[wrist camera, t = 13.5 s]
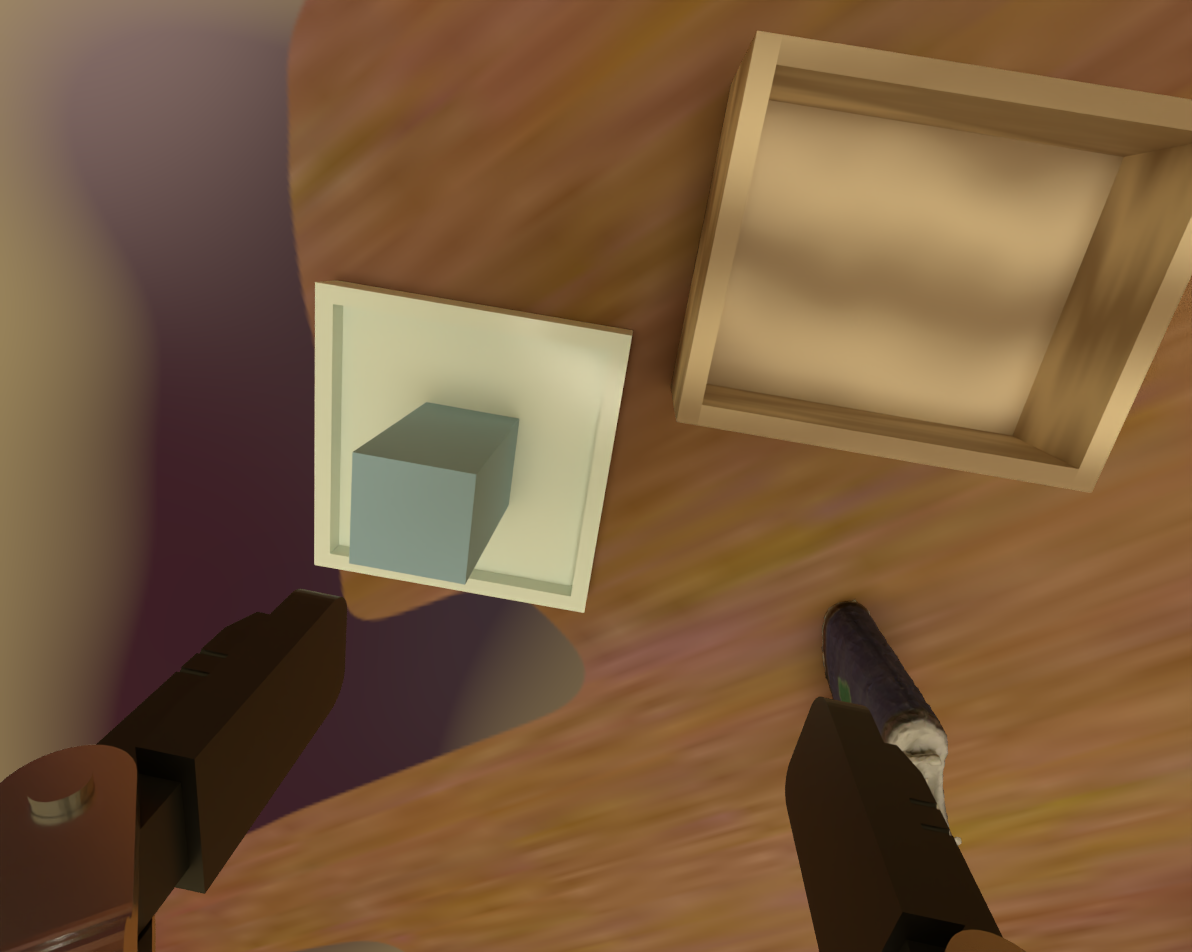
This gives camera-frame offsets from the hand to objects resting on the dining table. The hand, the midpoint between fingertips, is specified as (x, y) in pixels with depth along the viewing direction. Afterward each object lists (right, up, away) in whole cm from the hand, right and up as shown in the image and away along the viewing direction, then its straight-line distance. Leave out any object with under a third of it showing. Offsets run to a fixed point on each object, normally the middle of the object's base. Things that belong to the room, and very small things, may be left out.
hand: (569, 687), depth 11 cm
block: (-6, +5, +20) cm, 21 cm away
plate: (-6, +5, +21) cm, 22 cm away
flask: (+15, -7, +24) cm, 29 cm away
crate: (+13, +12, +17) cm, 24 cm away
